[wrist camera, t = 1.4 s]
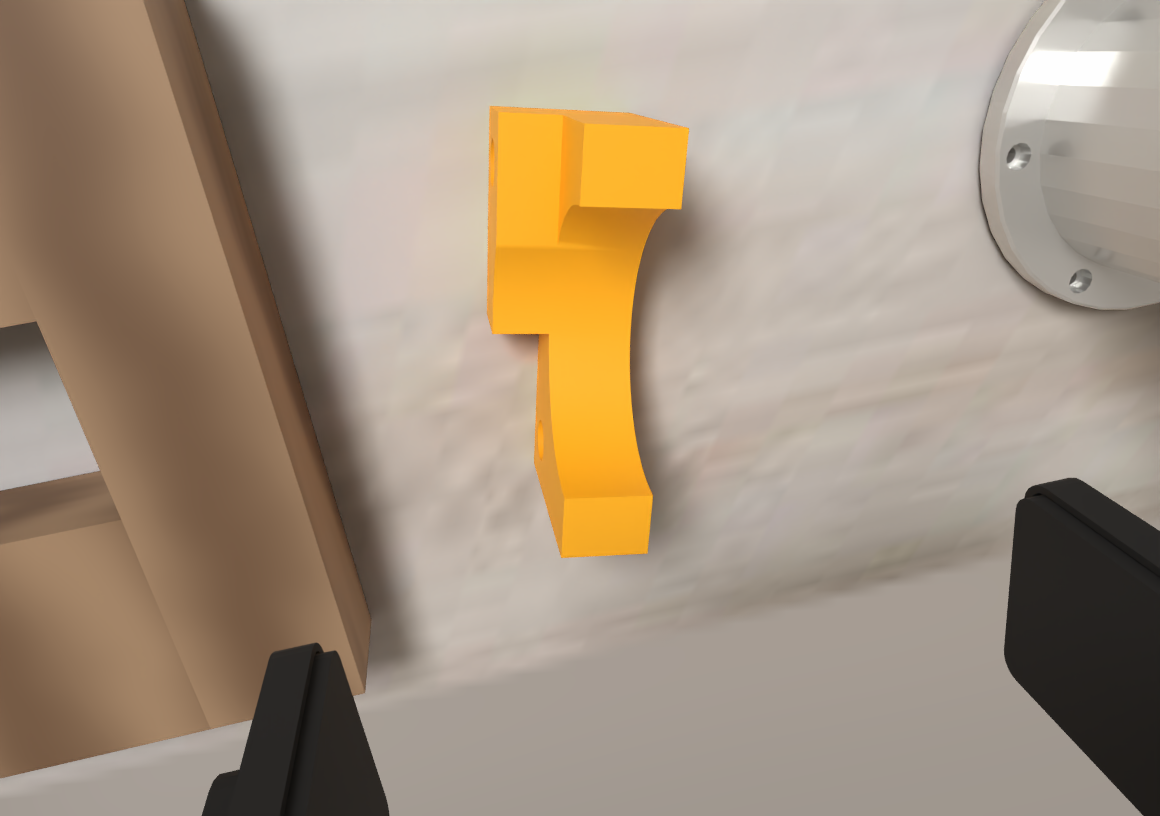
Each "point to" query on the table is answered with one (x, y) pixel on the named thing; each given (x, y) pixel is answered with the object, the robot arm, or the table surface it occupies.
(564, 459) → the orange curved block
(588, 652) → the table surface
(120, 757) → the table surface
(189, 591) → the cutout shelf
